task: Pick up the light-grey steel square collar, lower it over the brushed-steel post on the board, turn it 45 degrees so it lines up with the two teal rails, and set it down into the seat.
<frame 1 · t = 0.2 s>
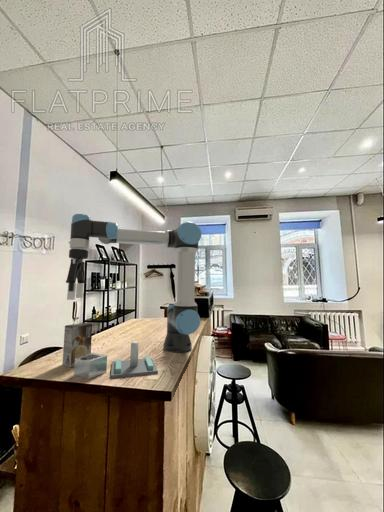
hand: (75, 298, 98), 27 cm above the table, fingers open, 13 cm apart
coffee box: (76, 363, 98), on the table
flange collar: (90, 373, 87), on the table
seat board: (133, 368, 93), on the table
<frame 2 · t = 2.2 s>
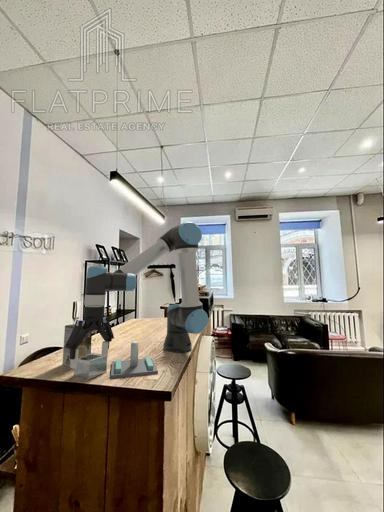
hand: (89, 363, 87), 4 cm above the table, fingers open, 13 cm apart
nothing on the table moved.
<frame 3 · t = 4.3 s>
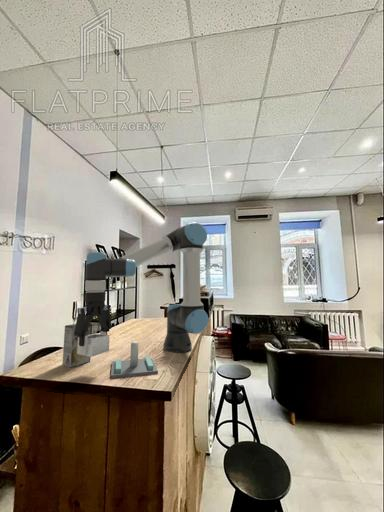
hand: (93, 351, 88), 8 cm above the table, fingers closed on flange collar, 8 cm apart
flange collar: (93, 352, 88), point 8 cm above the table, touching gripper
everything else where it was.
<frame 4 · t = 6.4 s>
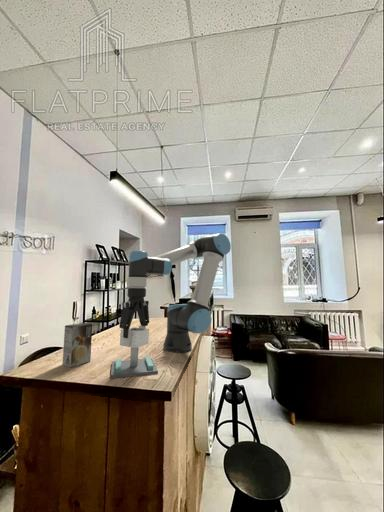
hand: (134, 343, 94), 10 cm above the table, fingers closed on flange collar, 8 cm apart
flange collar: (134, 344, 94), point 9 cm above the table, touching gripper
everything else where it was.
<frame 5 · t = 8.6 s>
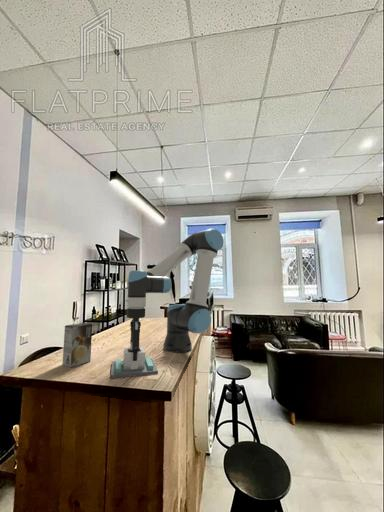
hand: (133, 365, 93), 1 cm above the table, fingers closed on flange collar, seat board, 8 cm apart
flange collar: (133, 365, 93), point 1 cm above the table, touching gripper, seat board
everything else where it was.
when the fingers open (1 cm above the table, at t = 9.1 s): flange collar stays where it is, resting on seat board.
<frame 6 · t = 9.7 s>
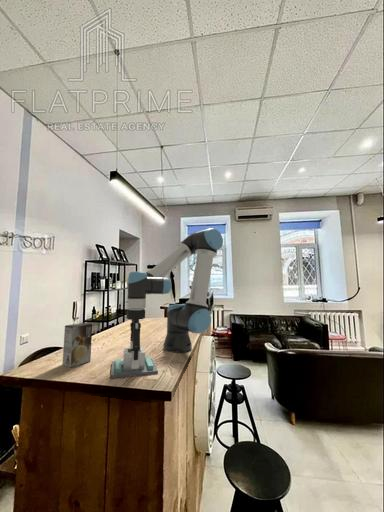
hand: (134, 362, 93), 2 cm above the table, fingers open, 13 cm apart
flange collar: (133, 365, 93), point 1 cm above the table, touching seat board
everything else where it was.
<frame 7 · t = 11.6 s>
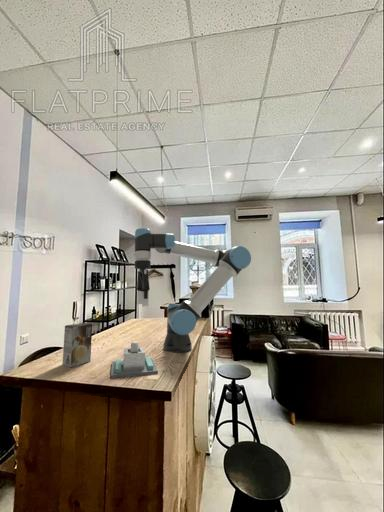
hand: (142, 305, 109), 24 cm above the table, fingers open, 13 cm apart
nothing on the table moved.
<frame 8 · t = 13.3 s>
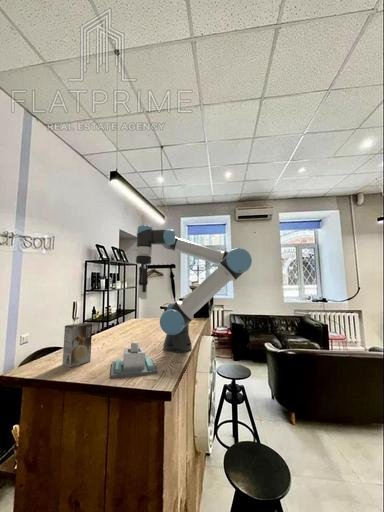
hand: (142, 298, 114), 27 cm above the table, fingers open, 13 cm apart
nothing on the table moved.
at the end: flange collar 0.1 cm off-centre on the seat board, point 1.0 cm above the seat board's base; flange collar tilted 0°; the gripper is holding nothing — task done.
